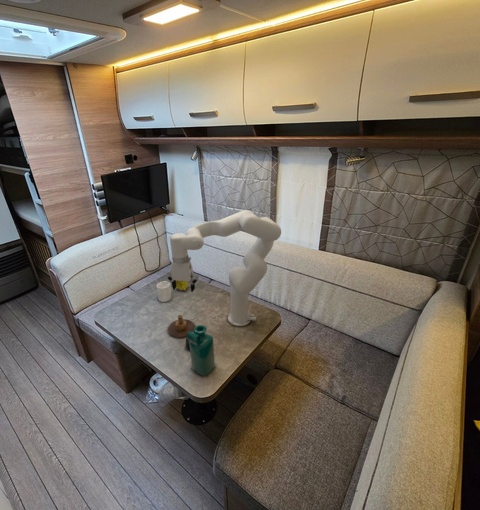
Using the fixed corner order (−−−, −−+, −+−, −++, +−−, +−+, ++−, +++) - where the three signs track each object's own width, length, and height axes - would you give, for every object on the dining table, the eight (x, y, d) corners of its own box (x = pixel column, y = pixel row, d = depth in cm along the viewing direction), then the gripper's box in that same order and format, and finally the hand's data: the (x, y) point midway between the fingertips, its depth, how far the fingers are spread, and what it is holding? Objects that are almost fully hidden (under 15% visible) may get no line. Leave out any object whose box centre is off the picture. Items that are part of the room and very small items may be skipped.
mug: (166, 291, 185) (164, 277, 181) (177, 293, 182) (175, 279, 177) (155, 300, 175) (153, 286, 171) (166, 303, 172) (164, 289, 168)
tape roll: (202, 342, 139) (201, 336, 138) (197, 352, 133) (196, 345, 132) (189, 339, 141) (188, 333, 140) (184, 349, 135) (183, 343, 134)
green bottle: (202, 357, 130) (199, 319, 121) (216, 365, 125) (214, 326, 116) (188, 370, 124) (183, 331, 114) (202, 379, 119) (198, 339, 109)
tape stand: (198, 323, 153) (197, 310, 150) (188, 340, 141) (187, 327, 138) (175, 319, 158) (173, 306, 154) (163, 335, 146) (161, 322, 142)
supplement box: (176, 290, 185) (175, 275, 181) (180, 285, 190) (179, 271, 186) (184, 291, 183) (183, 277, 179) (188, 287, 188) (187, 273, 184)
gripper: (199, 256, 134) (202, 287, 141) (167, 254, 139) (171, 283, 146) (194, 263, 127) (197, 295, 135) (160, 260, 132) (164, 291, 139)
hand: (183, 289), depth 140 cm, fingers open, 9 cm apart
